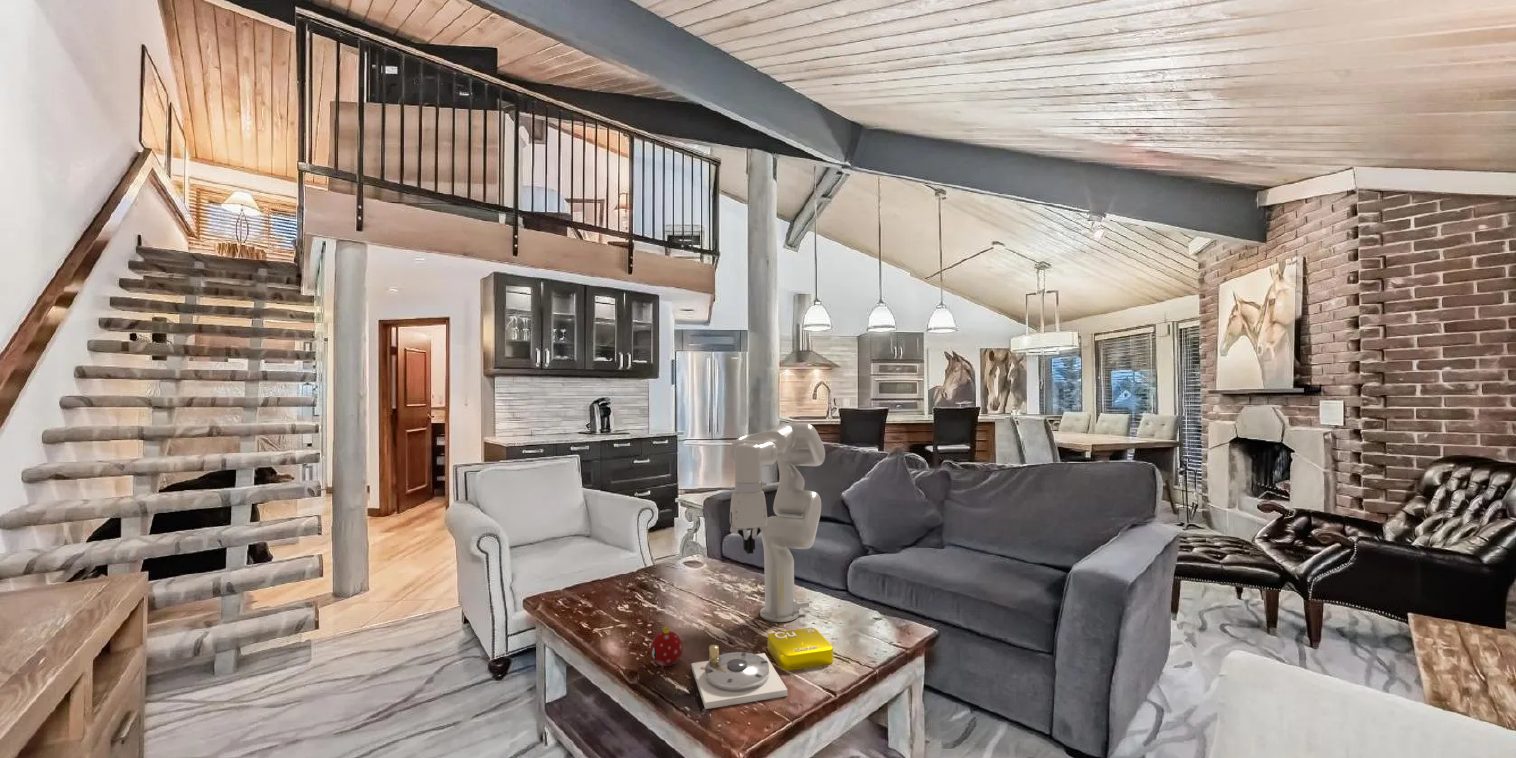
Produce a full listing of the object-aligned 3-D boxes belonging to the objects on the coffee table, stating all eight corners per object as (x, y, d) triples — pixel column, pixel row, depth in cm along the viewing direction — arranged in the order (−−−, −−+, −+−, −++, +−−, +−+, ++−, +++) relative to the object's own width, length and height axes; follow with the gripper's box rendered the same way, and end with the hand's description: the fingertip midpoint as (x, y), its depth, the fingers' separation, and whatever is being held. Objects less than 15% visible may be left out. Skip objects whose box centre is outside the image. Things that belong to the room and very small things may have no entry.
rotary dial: (774, 662, 156) (774, 637, 156) (761, 694, 141) (761, 666, 141) (715, 657, 160) (715, 633, 160) (696, 687, 144) (696, 660, 144)
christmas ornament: (689, 664, 160) (688, 627, 160) (662, 675, 154) (661, 636, 154) (670, 653, 166) (670, 618, 166) (644, 664, 160) (643, 627, 160)
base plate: (764, 658, 162) (764, 652, 162) (787, 695, 143) (787, 688, 143) (691, 668, 157) (691, 662, 157) (705, 709, 138) (705, 701, 138)
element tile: (782, 673, 155) (782, 654, 155) (765, 648, 170) (765, 631, 170) (836, 664, 160) (835, 646, 160) (814, 641, 174) (814, 624, 174)
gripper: (769, 483, 175) (770, 546, 175) (719, 487, 171) (720, 551, 171) (777, 488, 168) (778, 553, 168) (725, 491, 164) (726, 558, 164)
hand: (749, 552), depth 169 cm, fingers closed
